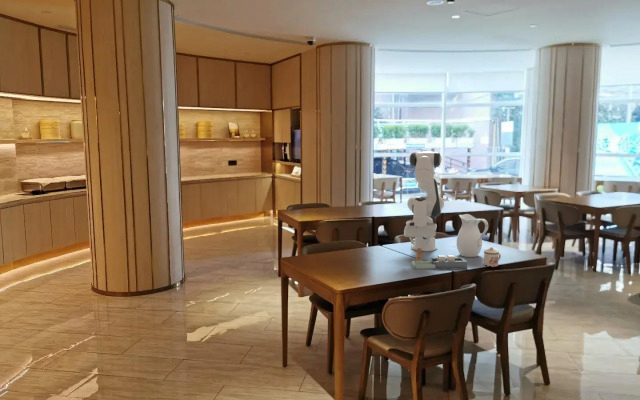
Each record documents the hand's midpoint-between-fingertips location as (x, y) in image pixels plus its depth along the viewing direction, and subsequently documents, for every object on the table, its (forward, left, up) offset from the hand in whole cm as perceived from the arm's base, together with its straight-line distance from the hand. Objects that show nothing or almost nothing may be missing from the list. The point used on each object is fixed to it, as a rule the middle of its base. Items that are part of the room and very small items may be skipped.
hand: (419, 243), depth 328 cm
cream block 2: (+9, +18, -10) cm, 23 cm away
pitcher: (-16, +40, -13) cm, 45 cm away
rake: (-1, 0, -13) cm, 13 cm away
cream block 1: (+9, +12, -10) cm, 18 cm away
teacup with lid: (+6, +46, -13) cm, 48 cm away
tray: (+9, +1, -13) cm, 16 cm away
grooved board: (+9, +17, -13) cm, 23 cm away
